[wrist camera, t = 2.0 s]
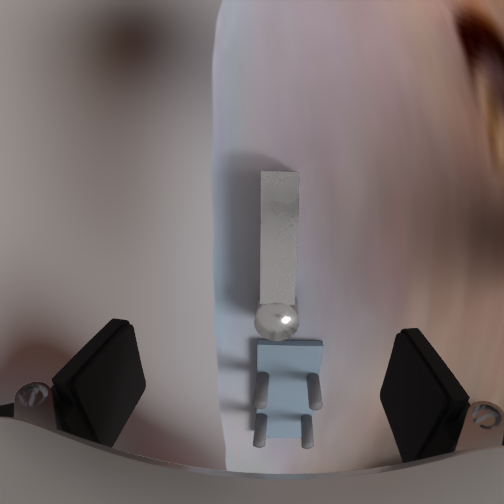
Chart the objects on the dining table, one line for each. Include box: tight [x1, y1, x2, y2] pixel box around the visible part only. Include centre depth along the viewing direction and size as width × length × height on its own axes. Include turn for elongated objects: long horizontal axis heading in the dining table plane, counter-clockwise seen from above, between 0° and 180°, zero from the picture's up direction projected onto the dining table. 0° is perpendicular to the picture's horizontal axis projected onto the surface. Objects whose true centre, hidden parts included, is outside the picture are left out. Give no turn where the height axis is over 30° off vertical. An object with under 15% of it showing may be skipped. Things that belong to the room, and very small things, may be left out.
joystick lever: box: [254, 171, 299, 341], centre depth 31 cm, size 17×5×4 cm, turn 0°
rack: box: [253, 340, 323, 449], centre depth 35 cm, size 18×8×7 cm, turn 0°
